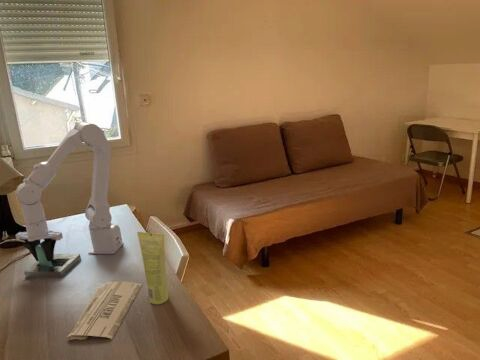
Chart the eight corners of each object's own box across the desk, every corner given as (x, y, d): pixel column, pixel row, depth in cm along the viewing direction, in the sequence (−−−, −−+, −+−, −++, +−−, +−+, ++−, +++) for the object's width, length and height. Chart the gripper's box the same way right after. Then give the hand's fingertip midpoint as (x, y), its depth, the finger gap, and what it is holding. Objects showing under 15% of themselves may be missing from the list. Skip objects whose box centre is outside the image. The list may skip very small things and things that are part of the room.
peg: (54, 265, 117) (49, 243, 114) (48, 271, 114) (42, 248, 111) (45, 265, 117) (39, 243, 115) (38, 270, 114) (32, 248, 112)
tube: (168, 291, 99) (159, 226, 93) (173, 300, 95) (164, 233, 89) (147, 297, 97) (137, 231, 91) (151, 307, 92) (141, 239, 87)
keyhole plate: (81, 259, 120) (79, 254, 119) (61, 277, 109) (60, 272, 109) (48, 259, 121) (46, 253, 121) (25, 277, 111) (24, 271, 110)
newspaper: (101, 287, 104) (100, 280, 103) (142, 290, 103) (142, 283, 103) (58, 344, 82) (57, 335, 81) (110, 349, 82) (109, 340, 81)
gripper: (4, 226, 108) (15, 265, 112) (48, 225, 106) (58, 266, 110) (20, 216, 115) (30, 254, 119) (62, 216, 113) (71, 254, 117)
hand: (45, 259), depth 115 cm, fingers closed on peg, 3 cm apart
